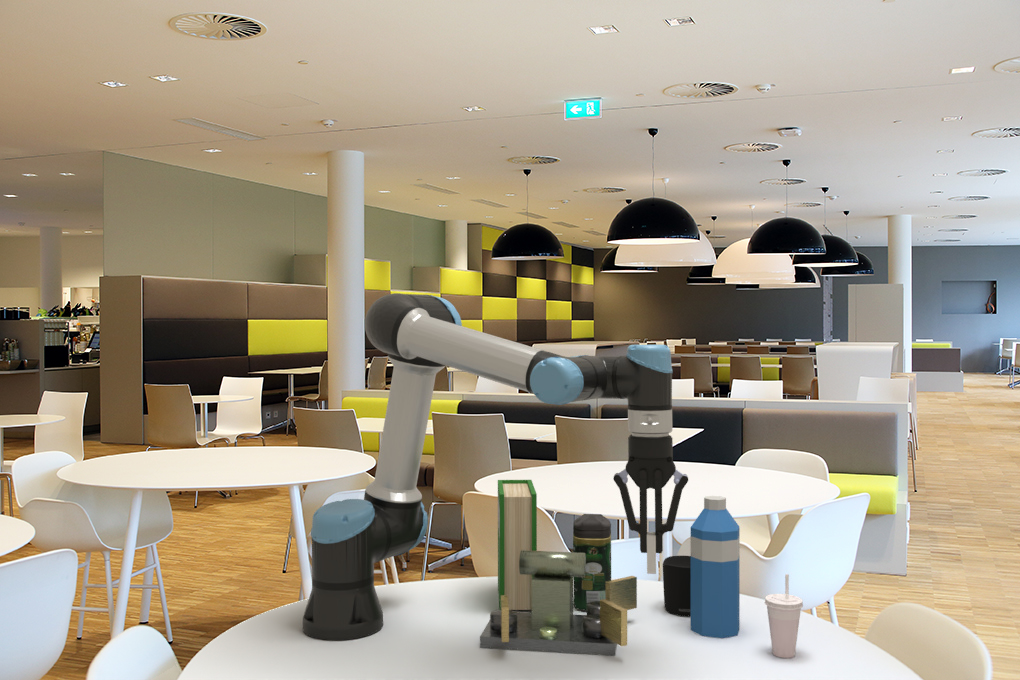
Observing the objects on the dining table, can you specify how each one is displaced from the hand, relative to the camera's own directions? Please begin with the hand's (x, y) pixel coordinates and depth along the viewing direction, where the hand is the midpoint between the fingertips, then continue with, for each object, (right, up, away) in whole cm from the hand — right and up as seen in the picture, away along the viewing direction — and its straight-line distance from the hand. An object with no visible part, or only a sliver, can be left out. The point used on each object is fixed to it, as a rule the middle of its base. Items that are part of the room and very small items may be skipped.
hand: (651, 571), depth 150 cm
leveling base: (-17, -15, +12) cm, 25 cm away
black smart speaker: (+11, -15, +27) cm, 33 cm away
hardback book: (-23, -15, +34) cm, 44 cm away
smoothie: (+24, -15, +3) cm, 28 cm away
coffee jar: (-7, -15, +30) cm, 35 cm away
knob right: (-7, -13, +4) cm, 15 cm away
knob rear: (-5, -13, +17) cm, 22 cm away
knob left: (-25, -13, +7) cm, 29 cm away
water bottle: (+15, -15, +15) cm, 26 cm away
